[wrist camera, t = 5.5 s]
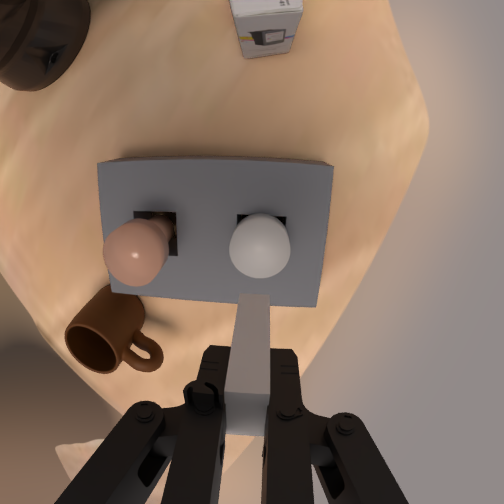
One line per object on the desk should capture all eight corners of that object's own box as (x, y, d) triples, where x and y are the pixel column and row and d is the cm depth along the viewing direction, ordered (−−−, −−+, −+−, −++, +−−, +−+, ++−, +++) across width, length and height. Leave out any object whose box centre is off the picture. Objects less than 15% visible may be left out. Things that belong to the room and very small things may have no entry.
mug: (182, 304, 36) (160, 353, 28) (173, 347, 39) (153, 396, 30) (98, 275, 35) (60, 312, 27) (97, 319, 38) (65, 359, 30)
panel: (119, 158, 30) (97, 163, 25) (323, 161, 29) (333, 166, 24) (129, 272, 35) (111, 292, 30) (310, 284, 34) (316, 307, 30)
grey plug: (238, 200, 31) (229, 219, 24) (287, 202, 30) (292, 223, 23) (237, 245, 32) (228, 276, 25) (283, 248, 32) (287, 279, 25)
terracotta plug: (136, 204, 28) (99, 226, 21) (183, 205, 28) (156, 228, 21) (139, 250, 30) (107, 283, 23) (185, 253, 30) (161, 289, 23)
